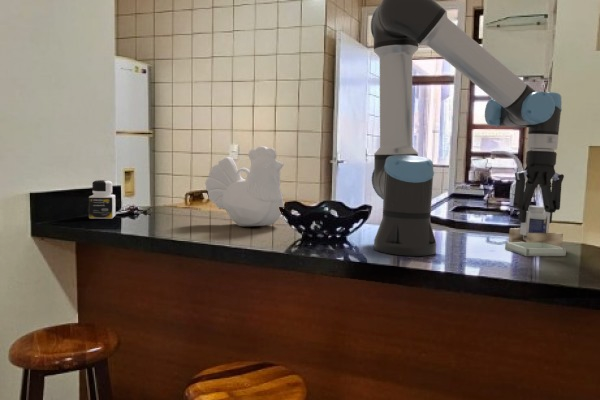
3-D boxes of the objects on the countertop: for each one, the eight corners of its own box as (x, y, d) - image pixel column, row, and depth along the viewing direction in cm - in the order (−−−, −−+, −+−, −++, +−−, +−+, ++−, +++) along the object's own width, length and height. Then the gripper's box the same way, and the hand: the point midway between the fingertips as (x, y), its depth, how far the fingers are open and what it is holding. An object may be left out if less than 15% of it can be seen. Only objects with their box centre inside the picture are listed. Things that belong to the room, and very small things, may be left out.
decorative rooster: (291, 226, 166) (294, 147, 164) (266, 232, 152) (269, 145, 150) (226, 218, 178) (228, 145, 175) (197, 224, 163) (198, 143, 161)
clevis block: (528, 248, 140) (529, 233, 140) (508, 242, 149) (509, 228, 149) (561, 248, 142) (563, 233, 142) (540, 242, 151) (541, 228, 150)
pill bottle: (546, 243, 142) (549, 207, 141) (525, 242, 143) (528, 206, 142) (541, 240, 147) (544, 206, 147) (521, 239, 148) (524, 204, 148)
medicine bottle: (88, 218, 167) (88, 181, 166) (92, 215, 174) (92, 179, 173) (112, 218, 168) (112, 181, 167) (115, 216, 175) (115, 180, 174)
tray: (525, 256, 129) (526, 248, 129) (504, 249, 138) (505, 242, 137) (565, 255, 131) (566, 248, 131) (542, 248, 140) (543, 242, 140)
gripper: (519, 148, 138) (511, 236, 140) (581, 152, 141) (572, 237, 143) (503, 148, 145) (496, 232, 147) (562, 151, 148) (554, 233, 151)
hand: (533, 234), depth 145 cm, fingers closed on pill bottle, 5 cm apart
